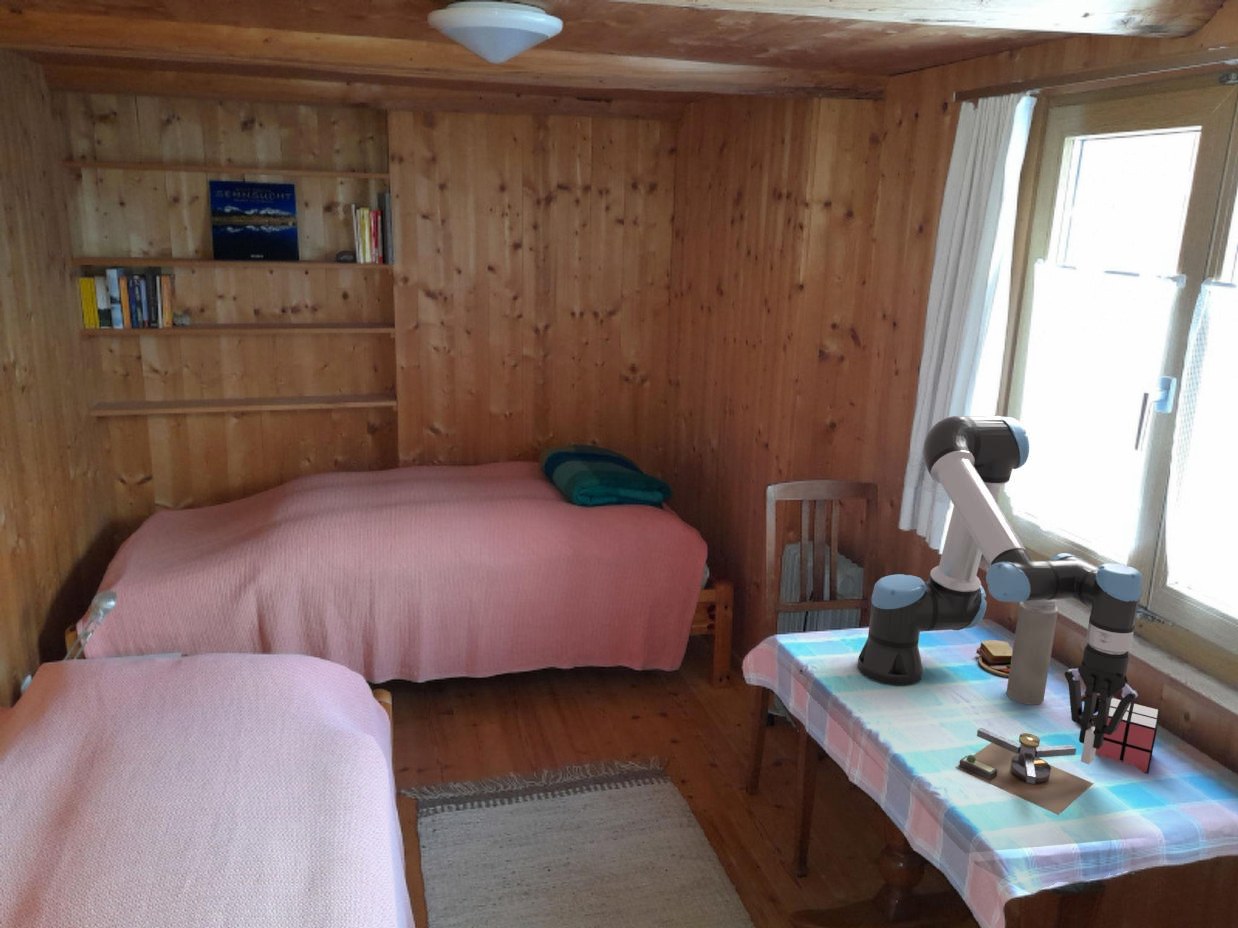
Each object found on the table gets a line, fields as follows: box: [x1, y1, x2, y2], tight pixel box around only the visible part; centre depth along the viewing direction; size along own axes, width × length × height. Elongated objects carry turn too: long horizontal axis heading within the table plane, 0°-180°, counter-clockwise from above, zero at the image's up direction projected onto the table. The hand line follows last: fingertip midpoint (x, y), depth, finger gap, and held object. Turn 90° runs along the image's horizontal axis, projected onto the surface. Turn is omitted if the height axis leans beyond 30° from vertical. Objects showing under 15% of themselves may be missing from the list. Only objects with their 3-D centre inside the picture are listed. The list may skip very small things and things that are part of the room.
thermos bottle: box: [1006, 600, 1059, 705], centre depth 216 cm, size 8×8×28 cm
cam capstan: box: [976, 727, 1077, 784], centre depth 183 cm, size 16×18×8 cm
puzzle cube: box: [1095, 697, 1161, 774], centre depth 194 cm, size 10×10×10 cm
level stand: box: [955, 742, 1094, 815], centre depth 184 cm, size 20×16×4 cm
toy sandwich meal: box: [975, 639, 1013, 678], centre depth 234 cm, size 12×14×5 cm
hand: (1087, 760), depth 182 cm, fingers closed
